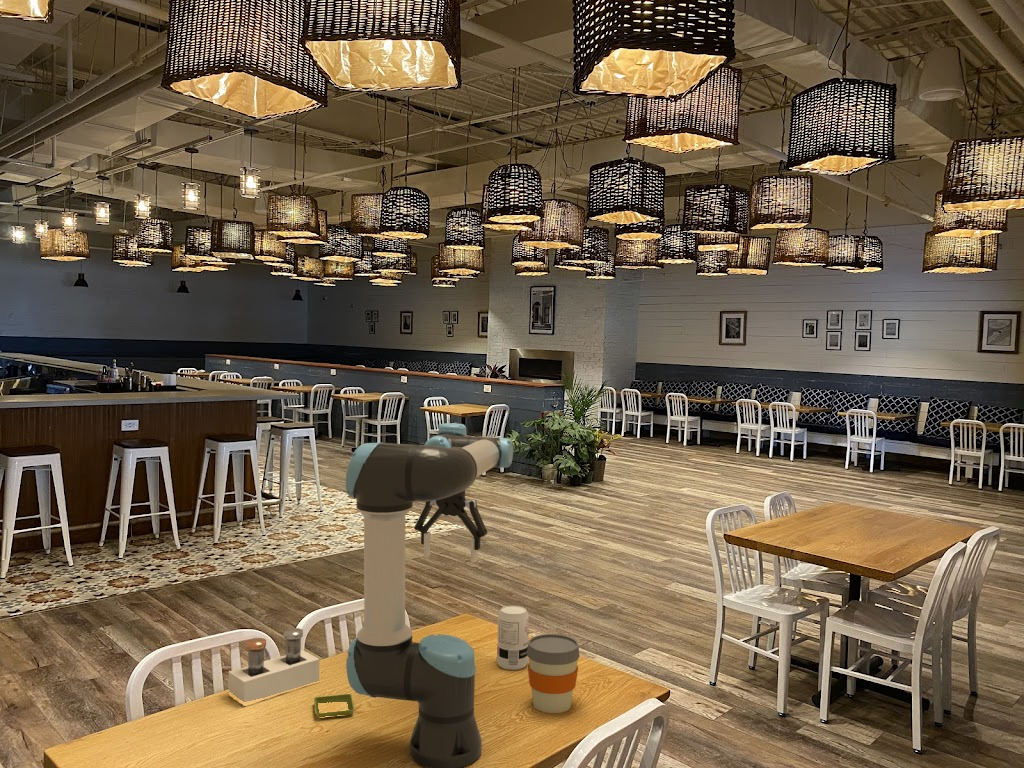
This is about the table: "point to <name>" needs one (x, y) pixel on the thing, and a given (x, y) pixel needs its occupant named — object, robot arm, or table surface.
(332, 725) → the table surface
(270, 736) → the table surface
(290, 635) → the grey plug
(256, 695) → the socket block
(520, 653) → the supplement can
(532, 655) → the reusable coffee cup
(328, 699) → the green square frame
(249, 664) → the terracotta plug
